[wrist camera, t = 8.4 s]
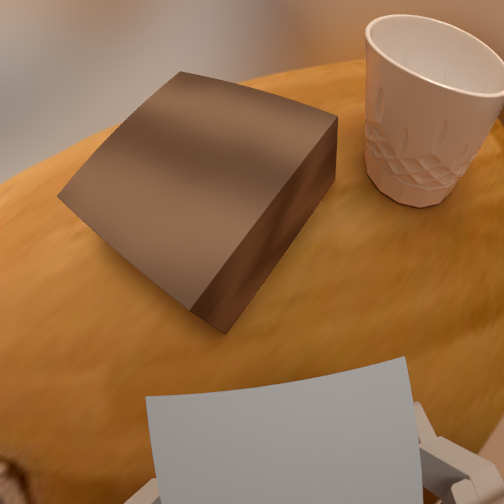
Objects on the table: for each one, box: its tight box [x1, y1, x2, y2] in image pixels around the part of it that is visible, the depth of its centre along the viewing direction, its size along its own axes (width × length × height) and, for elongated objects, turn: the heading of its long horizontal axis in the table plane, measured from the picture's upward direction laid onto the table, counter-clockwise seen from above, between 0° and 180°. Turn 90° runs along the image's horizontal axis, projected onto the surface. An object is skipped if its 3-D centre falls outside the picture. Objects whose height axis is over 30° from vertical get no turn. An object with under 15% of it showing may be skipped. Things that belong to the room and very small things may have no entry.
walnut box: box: [57, 72, 338, 334], centre depth 19 cm, size 12×12×6 cm
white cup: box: [364, 14, 504, 208], centre depth 15 cm, size 8×8×10 cm
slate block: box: [146, 356, 423, 504], centre depth 9 cm, size 5×5×10 cm
